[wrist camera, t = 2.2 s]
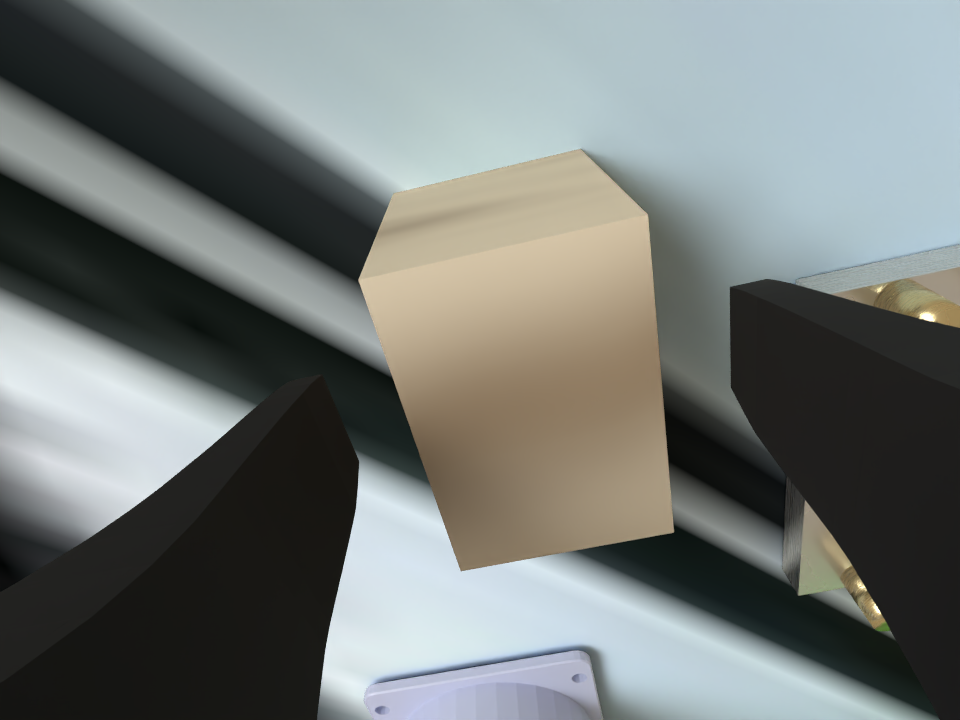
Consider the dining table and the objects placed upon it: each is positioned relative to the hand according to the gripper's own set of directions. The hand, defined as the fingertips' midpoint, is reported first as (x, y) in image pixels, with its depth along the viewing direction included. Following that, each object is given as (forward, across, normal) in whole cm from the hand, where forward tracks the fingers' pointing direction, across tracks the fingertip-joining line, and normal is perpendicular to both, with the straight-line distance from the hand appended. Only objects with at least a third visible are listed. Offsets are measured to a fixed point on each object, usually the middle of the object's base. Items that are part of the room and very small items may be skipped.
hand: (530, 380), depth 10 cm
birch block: (+4, 0, 0) cm, 4 cm away
